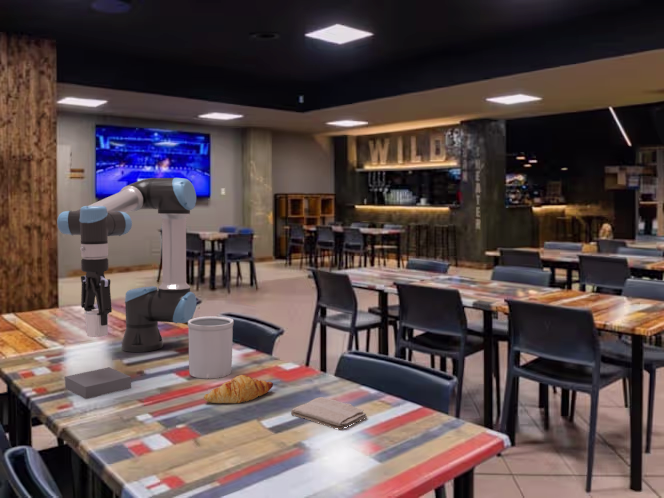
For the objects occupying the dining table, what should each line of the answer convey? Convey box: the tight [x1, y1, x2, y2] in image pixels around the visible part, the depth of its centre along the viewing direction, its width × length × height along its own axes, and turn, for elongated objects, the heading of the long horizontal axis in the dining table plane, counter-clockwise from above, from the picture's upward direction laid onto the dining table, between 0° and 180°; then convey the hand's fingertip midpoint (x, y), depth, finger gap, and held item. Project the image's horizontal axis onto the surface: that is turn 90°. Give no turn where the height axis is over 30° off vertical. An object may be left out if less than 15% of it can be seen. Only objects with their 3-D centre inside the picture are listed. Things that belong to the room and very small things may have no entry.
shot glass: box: [83, 309, 109, 338], centre depth 181 cm, size 7×7×7 cm
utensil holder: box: [187, 315, 235, 379], centre depth 198 cm, size 15×15×18 cm
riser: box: [64, 367, 132, 400], centre depth 182 cm, size 14×14×4 cm
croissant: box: [203, 374, 274, 404], centre depth 174 cm, size 21×10×8 cm, turn 122°
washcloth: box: [290, 396, 367, 430], centre depth 160 cm, size 12×18×3 cm, turn 53°
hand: (96, 333), depth 181 cm, fingers closed on shot glass, 7 cm apart
